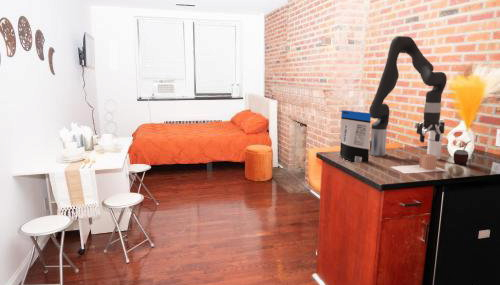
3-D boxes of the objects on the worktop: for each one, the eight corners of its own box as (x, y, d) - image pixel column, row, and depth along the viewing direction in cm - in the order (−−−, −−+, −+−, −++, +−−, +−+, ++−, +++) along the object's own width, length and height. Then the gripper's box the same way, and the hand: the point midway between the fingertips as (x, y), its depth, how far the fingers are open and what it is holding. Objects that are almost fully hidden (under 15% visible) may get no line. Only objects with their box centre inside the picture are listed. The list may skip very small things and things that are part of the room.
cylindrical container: (425, 160, 195) (428, 119, 190) (428, 158, 200) (431, 118, 195) (438, 162, 190) (442, 120, 185) (441, 159, 195) (445, 118, 190)
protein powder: (362, 165, 186) (364, 113, 181) (334, 157, 208) (335, 110, 202) (374, 163, 190) (377, 112, 184) (345, 155, 212) (347, 109, 206)
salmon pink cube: (426, 169, 171) (427, 156, 170) (419, 166, 176) (420, 154, 175) (435, 168, 172) (437, 156, 170) (428, 166, 177) (429, 153, 176)
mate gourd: (453, 162, 190) (456, 137, 187) (469, 164, 185) (472, 138, 182) (451, 165, 184) (454, 139, 181) (468, 167, 179) (471, 140, 176)
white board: (403, 176, 165) (403, 173, 165) (389, 169, 178) (389, 166, 178) (445, 173, 169) (446, 170, 169) (428, 166, 181) (429, 164, 181)
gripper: (439, 110, 173) (436, 139, 176) (415, 111, 171) (412, 141, 174) (450, 111, 165) (446, 142, 169) (424, 112, 163) (421, 143, 167)
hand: (429, 141), depth 171 cm, fingers open, 8 cm apart
